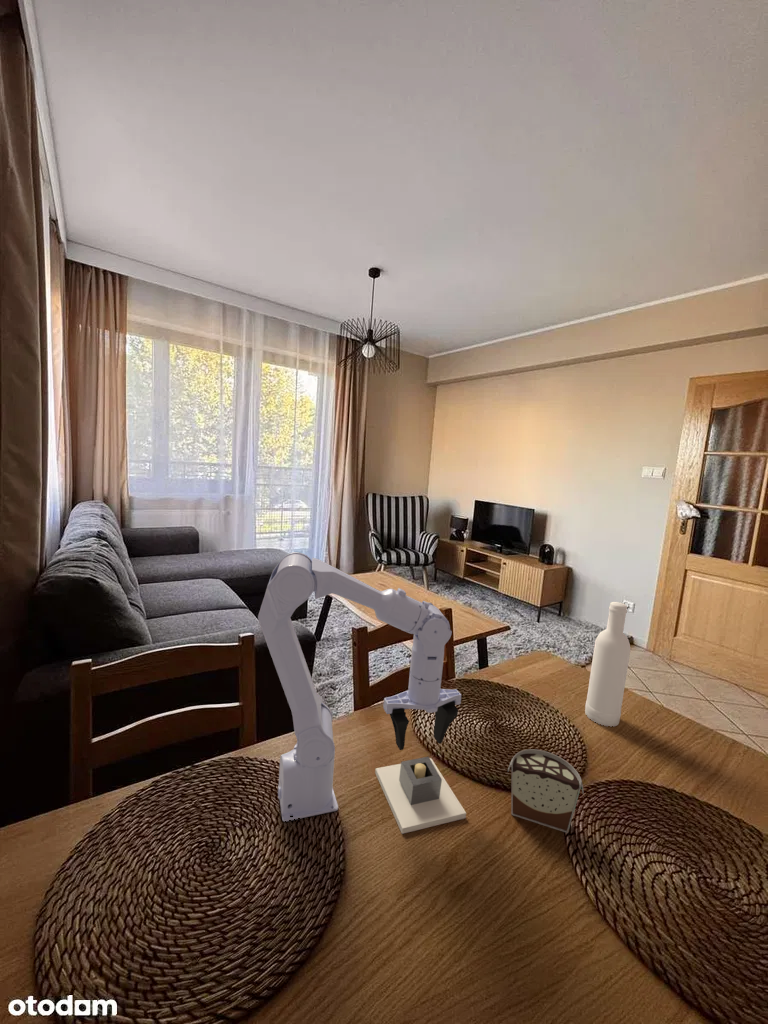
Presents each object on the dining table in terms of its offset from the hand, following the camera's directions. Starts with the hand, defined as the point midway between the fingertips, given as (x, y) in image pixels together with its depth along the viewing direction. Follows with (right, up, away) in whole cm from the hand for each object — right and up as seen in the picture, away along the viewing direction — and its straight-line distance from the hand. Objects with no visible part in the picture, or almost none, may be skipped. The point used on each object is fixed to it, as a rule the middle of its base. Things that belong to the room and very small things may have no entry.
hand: (419, 743), depth 78 cm
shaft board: (0, -10, +1) cm, 10 cm away
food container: (+22, -12, -1) cm, 25 cm away
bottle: (+49, -10, +30) cm, 58 cm away
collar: (0, -9, 0) cm, 9 cm away
